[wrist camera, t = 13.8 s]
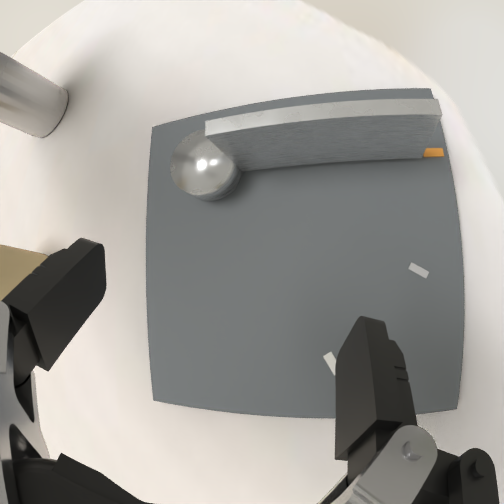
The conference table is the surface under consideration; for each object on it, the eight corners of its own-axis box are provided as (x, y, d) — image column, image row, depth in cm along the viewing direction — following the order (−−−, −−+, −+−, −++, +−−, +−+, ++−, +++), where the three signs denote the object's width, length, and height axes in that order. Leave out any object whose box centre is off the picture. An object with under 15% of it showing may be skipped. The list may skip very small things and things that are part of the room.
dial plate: (160, 396, 32) (152, 400, 30) (159, 132, 35) (151, 126, 34) (452, 403, 23) (457, 409, 22) (428, 96, 26) (430, 87, 25)
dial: (184, 204, 31) (132, 180, 23) (187, 147, 31) (140, 112, 23) (424, 185, 24) (450, 148, 16) (413, 123, 25) (428, 70, 17)
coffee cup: (29, 246, 41) (-34, 237, 30) (62, 250, 38) (-10, 240, 27) (25, 306, 41) (-38, 307, 29) (59, 318, 38) (-13, 322, 26)
